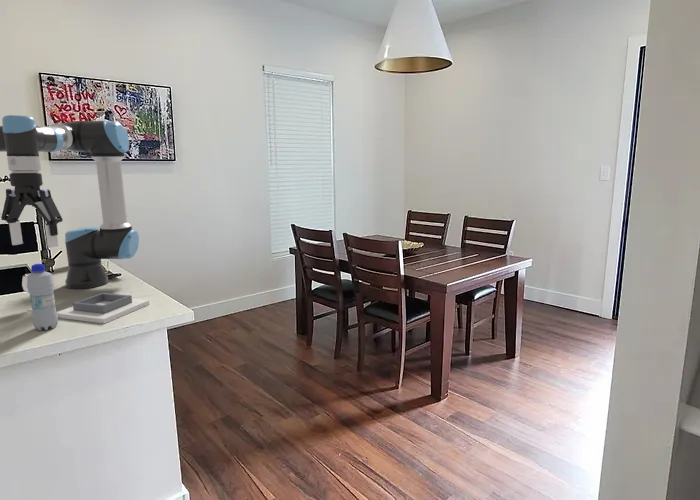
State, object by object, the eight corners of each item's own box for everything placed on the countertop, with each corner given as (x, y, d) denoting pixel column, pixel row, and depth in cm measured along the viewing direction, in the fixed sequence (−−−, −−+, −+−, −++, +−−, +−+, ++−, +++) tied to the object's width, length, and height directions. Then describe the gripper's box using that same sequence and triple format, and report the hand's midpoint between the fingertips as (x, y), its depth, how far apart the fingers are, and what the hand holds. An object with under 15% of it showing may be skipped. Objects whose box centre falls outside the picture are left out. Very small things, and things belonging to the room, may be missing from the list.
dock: (103, 299, 166) (102, 288, 165) (149, 304, 160) (148, 293, 160) (54, 317, 147) (53, 305, 146) (104, 323, 141) (103, 311, 141)
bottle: (46, 332, 134) (37, 266, 130) (27, 331, 135) (18, 265, 131) (64, 324, 140) (56, 261, 136) (46, 323, 142) (38, 260, 138)
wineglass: (28, 307, 157) (23, 273, 155) (47, 305, 159) (43, 272, 157) (23, 312, 152) (18, 277, 150) (44, 310, 154) (39, 275, 152)
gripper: (-21, 172, 129) (-10, 245, 133) (47, 172, 122) (56, 250, 126) (5, 171, 136) (15, 241, 140) (71, 172, 129) (79, 245, 133)
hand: (35, 245), depth 133 cm, fingers open, 13 cm apart
